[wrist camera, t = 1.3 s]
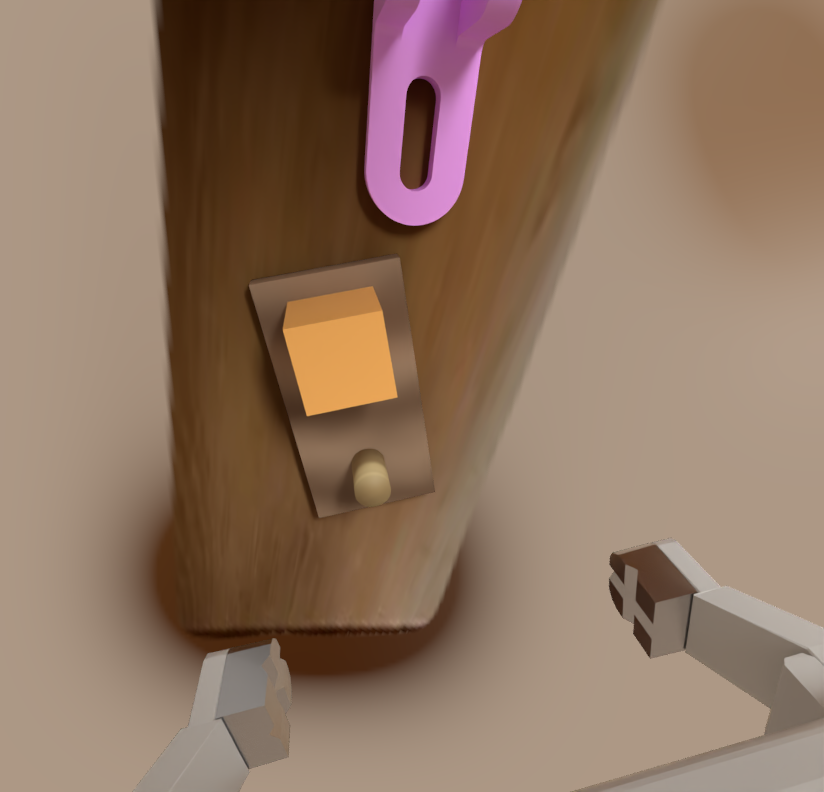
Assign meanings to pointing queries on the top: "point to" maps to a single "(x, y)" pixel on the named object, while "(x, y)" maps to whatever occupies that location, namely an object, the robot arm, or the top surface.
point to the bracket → (454, 87)
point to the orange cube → (339, 350)
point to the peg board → (360, 425)
